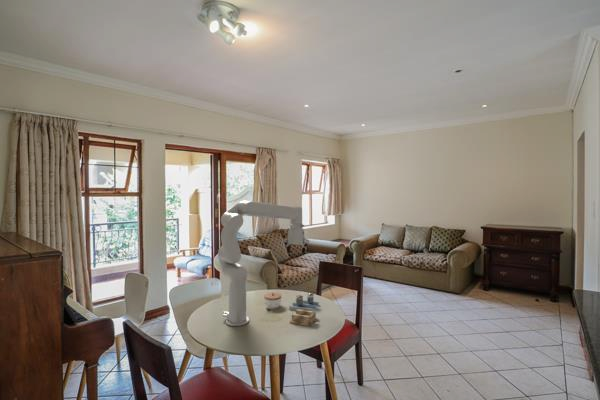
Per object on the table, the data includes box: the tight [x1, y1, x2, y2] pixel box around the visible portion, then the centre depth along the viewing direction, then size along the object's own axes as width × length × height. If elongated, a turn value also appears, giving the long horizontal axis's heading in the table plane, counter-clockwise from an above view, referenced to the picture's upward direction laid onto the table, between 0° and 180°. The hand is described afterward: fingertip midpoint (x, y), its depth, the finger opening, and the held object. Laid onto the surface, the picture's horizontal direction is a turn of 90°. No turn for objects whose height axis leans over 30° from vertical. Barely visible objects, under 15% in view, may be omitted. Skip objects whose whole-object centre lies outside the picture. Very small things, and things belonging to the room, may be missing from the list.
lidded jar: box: [263, 292, 282, 310], centre depth 184 cm, size 11×11×9 cm
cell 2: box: [306, 292, 315, 305], centre depth 184 cm, size 4×4×8 cm
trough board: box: [288, 299, 320, 312], centre depth 182 cm, size 16×13×3 cm
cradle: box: [289, 309, 317, 327], centre depth 164 cm, size 12×10×4 cm
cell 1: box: [295, 294, 304, 307], centre depth 180 cm, size 4×4×8 cm
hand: (296, 253), depth 188 cm, fingers open, 9 cm apart
